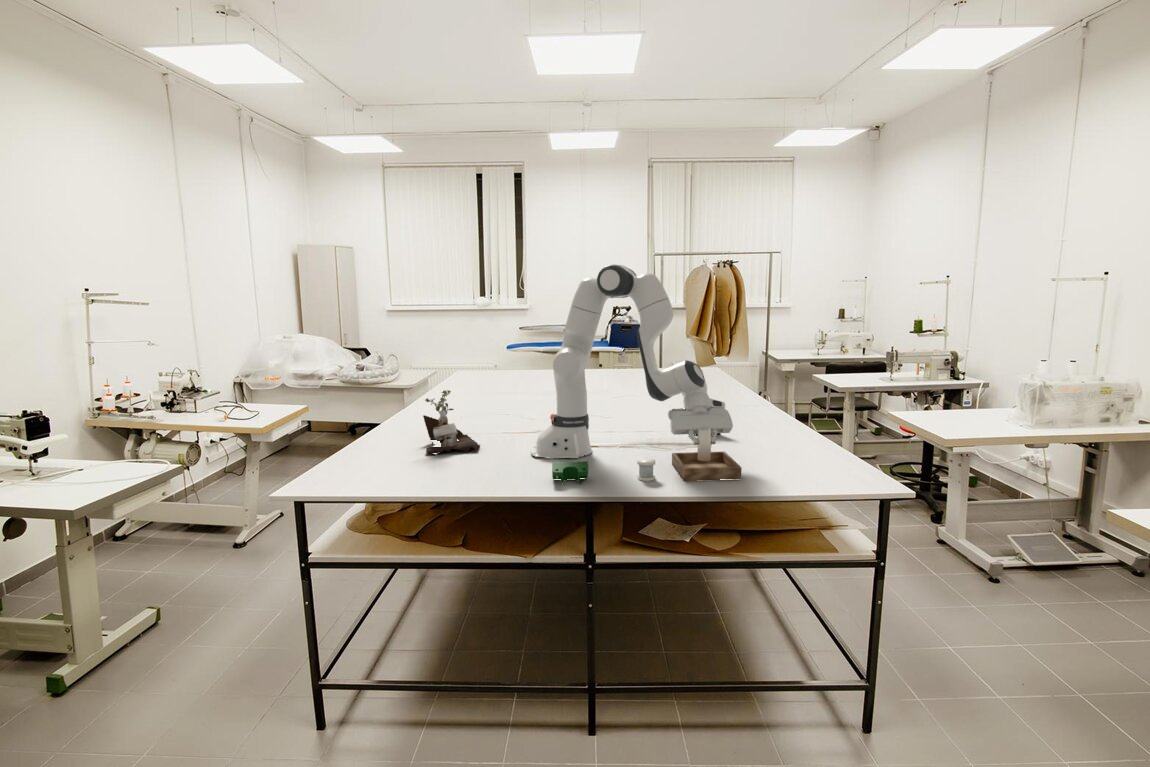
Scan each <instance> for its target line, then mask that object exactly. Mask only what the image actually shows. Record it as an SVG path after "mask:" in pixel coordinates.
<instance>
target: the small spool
mask: <svg viewBox="0 0 1150 767" xmlns="http://www.w3.org/2000/svg"><path fill="white" fill-rule="evenodd" d="M636 464H637V465H638V474H637V476H636V478H638V479H639V480H638V479H637V480H638V481H640V480H643V481H642V482H652V481H651V480H653V481H655V480H656V475H655V474H654V465H656V459H653V458H648V457H647V458H646V457H644V458H639V459H637V461H636ZM654 479H655V480H654Z"/></svg>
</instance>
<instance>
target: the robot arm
mask: <svg viewBox="0 0 1150 767" xmlns="http://www.w3.org/2000/svg"><path fill="white" fill-rule="evenodd" d="M628 297H629V298H631V299H632V301H633V302H634V305H635V306H636V309H637V311H638V314H639V318H640V324H639V328H638V329H637V331H636V332H637V333H636V335H637V344H638V349H639V353H640V357H641V361H642V365H643V370H644V375H645V385H646V389H647V392H648V395H649V397H650V398H652V399H654V400H656V401H659V402H665V401H666V400H668V399H670V398H673V397H674V396H676V395H679V394H681V395H682V396H683V408H682V407H681V408H671V409H670V410H668V412H667V415H668V416H667V418H668V419H669V420H670V432H671V434H673V435H688V436H687V437H688V438H689V439H690V440H691V441H692V445H693V446H698V444H699V441H698V437H695V436H696V435H693V434H698V429H699V428H701V427H707V428H709V429H711V433H712V436H713V437H712V436H711V445H716V443H717V440H716V437H717V436H716V435H717V433H721V434H729V433H731V432H732V430H733V427H734V423H733V420H732V416H731V415H730V412H729V411H728V410H727V409H726V402H724V401H722V400H717V399H713V398H710V396H709V394H708V386H707V382H706V379H705V374H704V373H703V370H702V368H701V367H700V366H699V365H698V364H697V363H695V362H693V361H691V360H688V359H686V360H683V361H681V362H678V363H675V364H673V365H670V366H668V367H667V368H664V369H661V370H659V368H658V364H657V359H656V354H655V351H654V345H655V342H656V340H658V338H659V336H660V335H662V334H663V333H664V331H666V330H667V329H668V328H669V326H670V324H671V323H672V321H673V318H674V308H673V306H672V303H671V300H670V298H669V295H668V294H667V291H666V289H665V288H664V286H663V284H662V282H661V280H660V279H659V278H658V277H657V276H656V274H653V273H646V272H645V273H643V274H642V273H641V274H640V275H639V274H638V275H637V274H636V272H634V270H633V269H631V268H629V267H627V266H625V265H621V264H619V265H618V264H608V265H606V266H604V267H603V268H601V270H600V271H599V272H598V274H597V277H596V278H594V277H586V278H584V279H582V280H581V281H580V283H579V284H578V287H577V289H576V290H575V293H574V296H573V297H572V298H573V299H572V302H571V304H570V309H569V312H568V316H567V320H566V322H565V326H564V333H563V338H562V344H561V347H560V350H559V351H558V352H556V353H555V355H554V357H553V360H552V368H553V378H554V380H553V381H554V385H555V386H554V387H555V392H556V393H555V394H556V414H555V413H551V414H550V415H549V416H550V417H549V418H550V420H551V425H549V426H548V427H547V428H546V429H545V430H543V431H542V432H540V434H539V435H538V436H537V441H536V444H535V445H534V446H532V448H531V449H530V455H531V454H532V455H533V456H535V457H553V458H577V457H579V456H581V457H585V456H588V455H590V454H592V452H593V450H592V445H591V442H590V435H589V427H590V418H589V417H590V416H589V413H588V392H587V385H586V383H587V382H586V372H585V370H586V368H587V367H588V364H589V361H590V357H591V353H592V351H593V350H592V349H593V345H594V341H595V336H596V334H597V331H598V330H597V329H598V326H599V323H600V321H601V316H602V313H603V309H604V306H605V303H606V302H607V301H608V299H624V298H628ZM584 455H585V456H584ZM553 458H552V459H553ZM579 458H580V457H579ZM577 459H578V458H577Z"/></svg>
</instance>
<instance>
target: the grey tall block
mask: <svg viewBox="0 0 1150 767" xmlns="http://www.w3.org/2000/svg"><path fill="white" fill-rule="evenodd" d="M711 437H712V436H711V429H709V428H707V427H701V428H699V429H698V435H697V438H698V441H699V444H698V445H697V452H698V460H700V461H710V460H711V452H712V444H711Z"/></svg>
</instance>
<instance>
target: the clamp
mask: <svg viewBox="0 0 1150 767" xmlns="http://www.w3.org/2000/svg"><path fill="white" fill-rule="evenodd" d="M551 471H552V472H551V476H552V477H551V478H552V480H553V479H561V484H562V483H563V484H564V482H565V481H568V480H567V479H575V480H574V481H576V480H578V482H580V481H581V480H580V478H587V479H588V477H589V474H590V473H589V462H588V461H552V462H551ZM564 480H565V481H564ZM563 481H564V482H563ZM578 482H577V483H578Z"/></svg>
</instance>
